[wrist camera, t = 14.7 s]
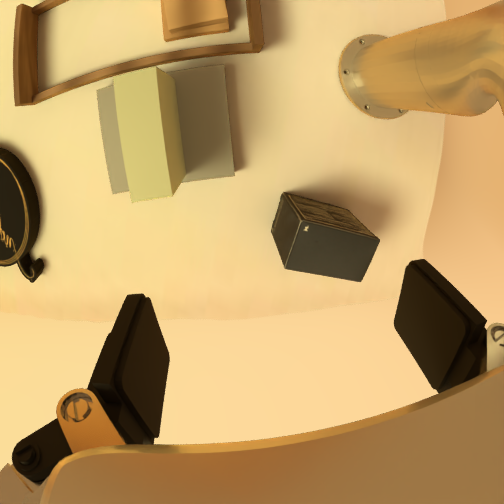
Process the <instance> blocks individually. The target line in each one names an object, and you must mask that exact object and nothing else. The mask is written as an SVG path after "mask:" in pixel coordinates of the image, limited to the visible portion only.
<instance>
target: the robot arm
mask: <svg viewBox="0 0 504 504" xmlns="http://www.w3.org/2000/svg"><path fill="white" fill-rule="evenodd" d="M360 42H361V44H360ZM338 67H339V78H340V82H341V85H342V87H343V90H344V92H345V94H346V95H347V97H348V99H349V100H350V101H351V102H352V103H353V104H354V106H356V107H357V108H358V109H359V110H360V111H362V112H364V113H365V114H367V115H369V116H372V117H374V118H380V119H393V118H397V117H400V116H402V115H403V114H405V113H406V112H407V111H408V110H416V111H426V112H435V113H443V114H451V115H459V116H476V115H480V114H482V113H485V112H486V111H487V110H489V109H490V108H491V107H492V106H493V105H494V104H495V103H496V102H497V101H498V102H499V104H500V106H501V109H502V112H503V115H504V0H502V1H499V2H497V3H494V4H492V5H490V6H487V7H485V8H483V9H480V10H478V11H475V12H472V13H469V14H466V15H464V16H461V17H457V18H454V19H450V20H447V21H443V22H439V23H435V24H432V25H428V26H425V27H421V28H418V29H414V30H411V31H408V32H405V33H402V34H398V35H395V36H392V37H390V38H386V37H383V36H380V35H364V36H361V37H358V38H356V39H354V40H352V41H351V42H350V43H349V44H348V45H347V46H346V47H345V49H344V50H343V51H342V54H341V56H340V60H339V66H338ZM344 71H345V72H346V74H344ZM365 106H366V109H365ZM398 109H399V110H398ZM486 322H487V320H486V319H485V318H484V317H483V316H482V315H481V313H480V312H479V311H478V310H477V309H476V308H475V307H474V306H473V305H472V304H471V303H470V302H469V301H468V300H467V299H466V298H465V297H464V296H463V295H462V294H461V293H460V292H459V291H458V290H457V289H456V288H455V287H454V286H453V285H452V284H451V283H450V282H449V281H447V279H446V278H445V277H444V276H442V275H441V274H440V273H439V272H438V271H437V270H436V269H435V268H434V267H433V266H432V265H431V264H430V263H428V262H427V261H426V260H425V259H420V260H414V261H411V262H410V263H409V265H408V266H407V267H406V269H405V274H404V279H403V284H402V288H401V293H400V297H399V302H398V306H397V310H396V314H395V318H394V327H395V329H396V331H397V332H398V334H399V335H400V337H401V339H402V340H403V341H404V343H405V345H406V346H407V348H408V349H409V351H410V352H411V354H412V356H413V357H414V359H415V360H416V362H417V363H418V365H419V367H420V368H421V370H422V372H423V373H424V375H425V377H426V378H427V380H428V382H429V383H430V384H431V387H432V388H433V389H436V390H437V392H438V393H439V394H436V395H434V396H431V397H429V398H427V399H424V400H421V401H419V402H416V403H413V404H411V405H407V406H405V407H402V408H399V409H396V410H393V411H390V412H386V413H383V414H380V415H377V416H373V417H370V418H366V419H363V420H359V421H355V422H351V423H348V424H344V425H340V426H335V427H331V428H326V429H322V430H317V431H312V432H307V433H301V434H295V435H289V436H282V437H276V438H269V439H261V440H251V441H241V442H228V443H212V444H186V445H160V444H157V445H156V444H154V438H158V437H159V433H160V425H161V417H162V409H163V402H164V395H165V388H166V381H167V374H168V367H169V361H170V357H169V352H168V349H167V346H166V344H165V341H164V338H163V335H162V332H161V329H160V327H159V324H158V321H157V318H156V315H155V312H154V309H153V306H152V302H151V300H150V298H149V297H145V295H144V294H131V295H127V296H126V299H125V301H124V303H123V305H122V308H121V310H120V312H119V314H118V317H117V319H116V321H115V324H114V326H113V329H112V331H111V333H109V334H108V336H107V338H106V341H105V343H104V346H103V348H102V350H101V353H100V356H99V358H98V361H97V363H96V366H95V369H94V371H93V374H92V377H91V379H90V382H89V385H88V388H87V389H83V388H80V389H74V390H71V391H69V392H68V393H66V394H65V395H64V396H63V397H62V398H61V399H60V401H59V403H58V405H57V410H56V413H57V419H55V420H53V421H52V422H50V423H49V424H47V425H45V426H44V427H42V428H40V429H39V430H37V431H35V432H34V433H32V434H31V435H29V436H28V437H26V438H24V439H22V440H21V441H20V442H19V443H17V445H16V446H15V448H14V450H13V453H12V462H13V464H12V465H10V464H8V463H7V465H6V466H5V467H4V468H3V469H2V470H1V472H0V504H504V324H502V323H494V324H491V325H490V326H489V327H488V329H487V330H486V329H485V327H484V326H485V324H486Z"/></svg>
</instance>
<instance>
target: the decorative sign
mask: <svg viewBox="0 0 504 504" xmlns="http://www.w3.org/2000/svg"><path fill="white" fill-rule="evenodd" d="M39 224H40V211H39V202H38V197H37V193H36V190H35V187H34V184H33V182H32V179H31V177H30V175H29V173H28V172H27V170H26V168H25V167H24V165H23V164H22V163H21V161H20V160H19V159H18V158H17V157H16V156H15V155H14V154H13V153H11V152H10V151H8V150H6V149H3V148H0V266H4V267H6V266H11V265H14V264H15V263H17V264H18V267H19V269H20V271H21V272H22V274H23V275H24V276H25V278H27V279H28V280H30V282H32V283H33V282H34V281H35V280H36V279H37V278H38V277H39V276H40V274H41V273H42V270H43V268H44V263H43V261H42V260H41V259H40V258H38V259H37V260H36V261H35V262H34V263H33V262H32V260H31V258H30V256H29V251H30V250H31V248H32V247H33V245H34V243H35V241H36V239H37V235H38V231H39Z"/></svg>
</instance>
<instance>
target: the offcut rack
mask: <svg viewBox="0 0 504 504" xmlns="http://www.w3.org/2000/svg"><path fill="white" fill-rule="evenodd" d="M66 1H69V0H46V1H44V2H42V3H40V4H38V5H36V6H34V7H33V8H32V7H30V6H27V5H24V4H20V5H19V6H17V9H16V18H15V29H14V48H13V80H14V100H15V106H25V105H35V104H38V103H40V102H42V101H44V100H47V99H49V98H52V97H54V96H57V95H59V94H62V93H64V92H67V91H70V90H72V89H75V88H78V87H81V86H84V85H86V84H89V83H93V82H96V81H99V80H102V79H105V78H109V77H112V76H116V75H119V74H123V73H127V72H131V71H135V70H139V69H143V68H148V67H152V66H157V65H162V64H167V63H172V62H178V61H184V60H190V59H197V58H204V57H212V56H221V55H232V54H245V53H259V52H260V50H261V49H262V47H263V45H264V38H263V28H262V18H261V9H260V0H246V5H247V15H248V25H249V35H250V43H238V44H226V45H216V46H208V47H200V48H193V49H186V50H180V51H175V52H169V53H164V54H159V55H154V56H150V57H145V58H141V59H137V60H133V61H129V62H125V63H122V64H118V65H114V66H111V67H108V68H104V69H101V70H98V71H95V72H92V73H89V74H86V75H83V76H80V77H78V78H75V79H72V80H70V81H67V82H64V83H62V84H59V85H57V86H54V87H52V88H50V89H47V90H45V91H43V92H41V93H39V91H38V72H37V34H38V16H39V15H40V14H42V13H44V12H46V11H48V10H50V9H52V8H54V7H56V6H58V5H60V4H62V3H64V2H66Z"/></svg>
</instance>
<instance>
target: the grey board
mask: <svg viewBox="0 0 504 504" xmlns="http://www.w3.org/2000/svg"><path fill="white" fill-rule="evenodd" d="M166 74H168V75H169V76H171V77H172V78H174V79H175V85H176V95H177V104H178V113H179V122H180V131H181V139H182V146H183V154H184V161H185V169H186V176H185V177H184V179H183V180H182V182H181V183H183V182H190V181H198V180H206V179H214V178H222V177H231V176H235V173H234V163H233V153H232V142H231V132H230V122H229V111H228V101H227V90H226V79H225V69H224V65H215V66H206V67H199V68H192V69H185V70H179V71H174V72H168V73H166ZM97 100H98V109H99V117H100V125H101V132H102V139H103V145H104V151H105V157H106V163H107V168H108V174H109V179H110V184H111V189H112V193H113V194H117V193H122V192H127V191H129V186H128V181H127V176H126V171H125V165H124V159H123V153H122V147H121V140H120V133H119V126H118V119H117V111H116V102H115V92H114V85H112V86H109V87H105V88H102V89H99V90H97Z"/></svg>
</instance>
